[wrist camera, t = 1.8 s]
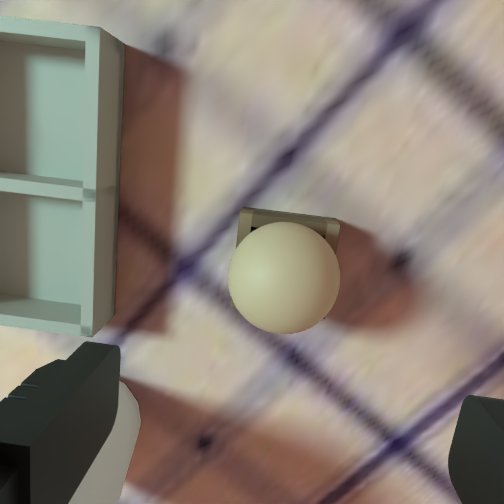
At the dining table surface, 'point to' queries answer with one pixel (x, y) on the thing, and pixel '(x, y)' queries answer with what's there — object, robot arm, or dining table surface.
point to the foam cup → (112, 456)
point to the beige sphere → (284, 278)
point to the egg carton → (59, 174)
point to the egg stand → (260, 217)
